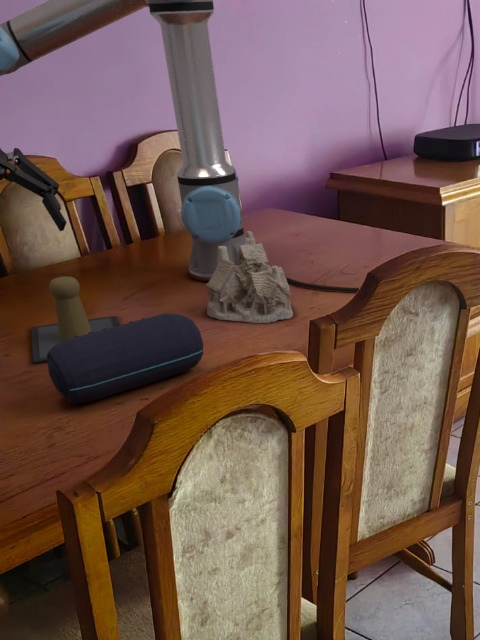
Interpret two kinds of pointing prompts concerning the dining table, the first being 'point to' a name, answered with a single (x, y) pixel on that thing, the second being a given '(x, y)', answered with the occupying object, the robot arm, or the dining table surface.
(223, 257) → the ceramic cottage
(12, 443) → the dining table surface
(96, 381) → the portable speaker
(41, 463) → the dining table surface
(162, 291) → the dining table surface
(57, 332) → the tablet computer
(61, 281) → the cork
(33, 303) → the dining table surface
